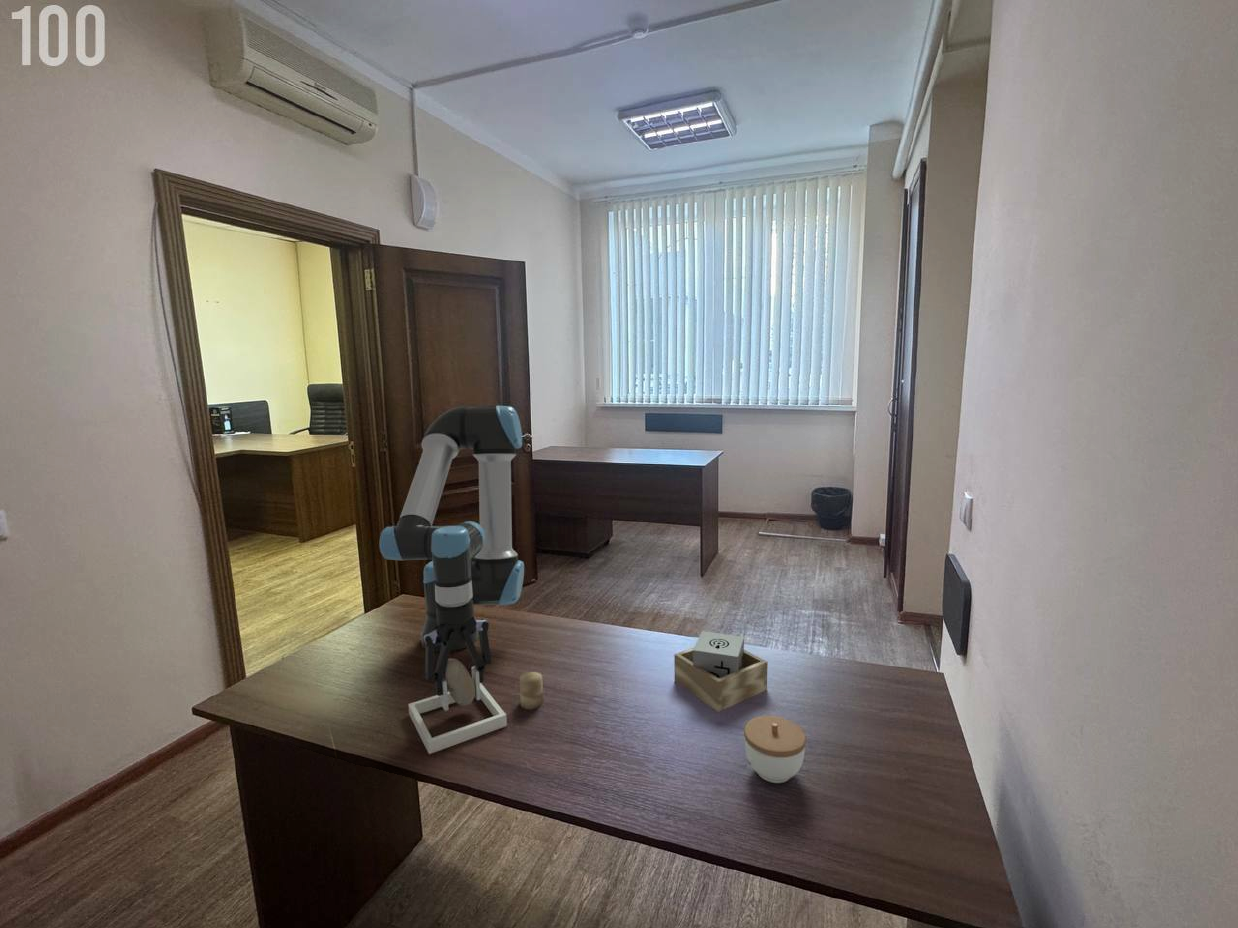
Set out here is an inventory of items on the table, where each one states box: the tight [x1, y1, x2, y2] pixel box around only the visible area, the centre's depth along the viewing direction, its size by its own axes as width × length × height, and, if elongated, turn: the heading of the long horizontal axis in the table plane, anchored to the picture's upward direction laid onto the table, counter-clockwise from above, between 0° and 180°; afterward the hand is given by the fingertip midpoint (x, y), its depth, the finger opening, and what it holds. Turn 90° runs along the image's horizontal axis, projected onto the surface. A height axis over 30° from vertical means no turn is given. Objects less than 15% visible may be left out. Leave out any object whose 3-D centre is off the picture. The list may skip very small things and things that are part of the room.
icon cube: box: [693, 630, 745, 678], centre depth 132 cm, size 10×10×10 cm
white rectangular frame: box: [407, 683, 508, 755], centre depth 121 cm, size 16×16×2 cm
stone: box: [444, 657, 475, 707], centre depth 122 cm, size 6×6×12 cm
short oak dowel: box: [519, 671, 544, 710], centre depth 127 cm, size 5×5×6 cm
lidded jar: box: [743, 715, 807, 784], centre depth 103 cm, size 11×11×9 cm
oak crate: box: [673, 647, 769, 713], centre depth 132 cm, size 15×15×7 cm
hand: (461, 701), depth 123 cm, fingers closed on stone, 6 cm apart
